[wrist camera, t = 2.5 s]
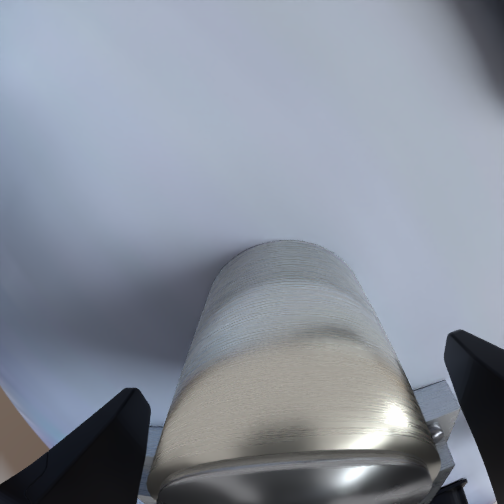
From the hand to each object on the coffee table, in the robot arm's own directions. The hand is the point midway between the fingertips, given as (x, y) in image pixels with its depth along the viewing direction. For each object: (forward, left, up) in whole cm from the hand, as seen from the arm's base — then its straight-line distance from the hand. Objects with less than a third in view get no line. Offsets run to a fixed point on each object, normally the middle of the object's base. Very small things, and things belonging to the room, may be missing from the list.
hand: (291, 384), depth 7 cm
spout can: (0, 0, -3) cm, 3 cm away
